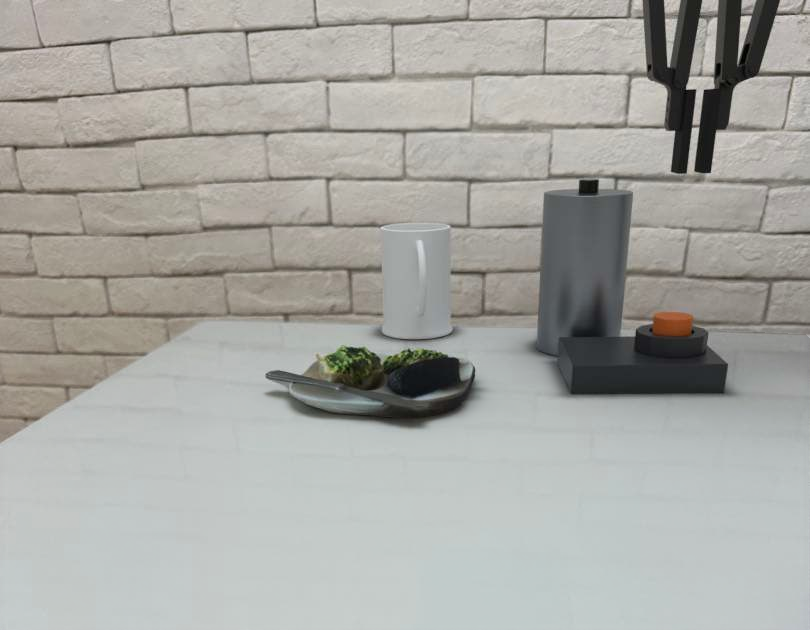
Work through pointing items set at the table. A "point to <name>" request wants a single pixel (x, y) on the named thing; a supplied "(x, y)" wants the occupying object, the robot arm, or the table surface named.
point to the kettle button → (672, 324)
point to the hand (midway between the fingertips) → (690, 172)
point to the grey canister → (582, 263)
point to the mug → (416, 280)
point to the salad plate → (382, 382)
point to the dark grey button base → (642, 363)
